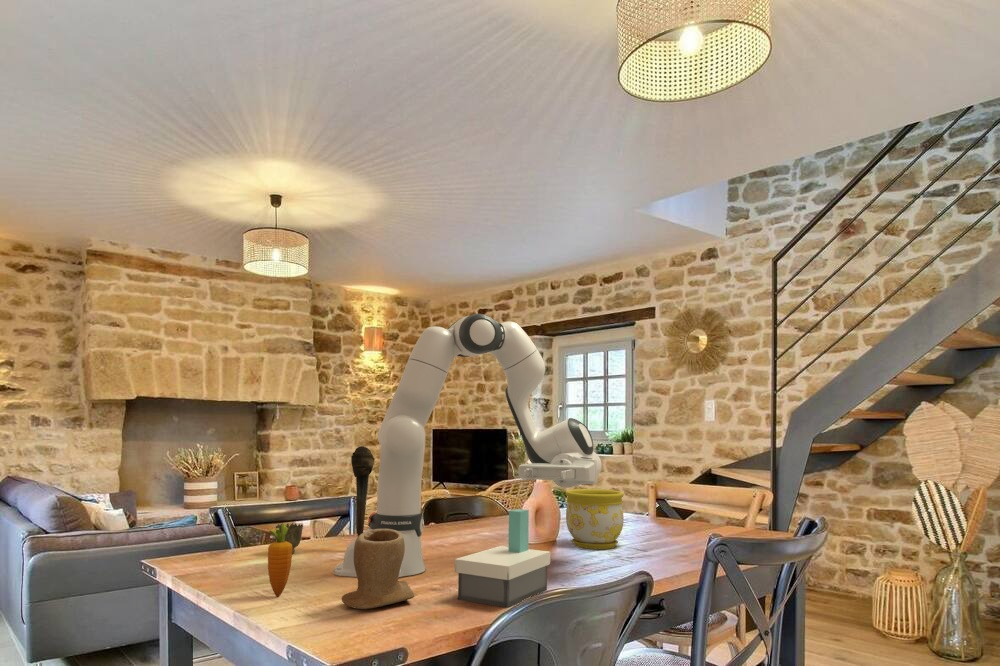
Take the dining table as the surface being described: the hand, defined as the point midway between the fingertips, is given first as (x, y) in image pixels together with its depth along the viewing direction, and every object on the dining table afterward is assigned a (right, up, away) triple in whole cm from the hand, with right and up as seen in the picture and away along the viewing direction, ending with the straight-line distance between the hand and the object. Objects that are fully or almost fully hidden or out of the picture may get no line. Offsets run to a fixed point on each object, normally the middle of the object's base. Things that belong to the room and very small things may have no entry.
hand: (542, 474), depth 166 cm
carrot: (-58, -21, -24) cm, 66 cm away
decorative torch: (-51, -28, +28) cm, 65 cm away
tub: (-10, -22, -19) cm, 31 cm away
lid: (-10, -17, -18) cm, 27 cm away
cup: (-70, -27, +23) cm, 79 cm away
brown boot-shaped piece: (-35, -21, -29) cm, 50 cm away
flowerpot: (+19, -31, +42) cm, 56 cm away
